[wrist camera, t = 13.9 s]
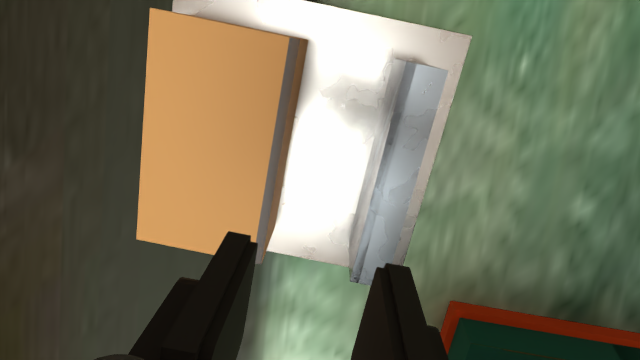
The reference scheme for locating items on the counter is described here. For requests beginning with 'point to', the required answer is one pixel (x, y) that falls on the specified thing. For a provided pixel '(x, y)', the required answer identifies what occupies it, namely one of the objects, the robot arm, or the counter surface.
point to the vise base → (355, 127)
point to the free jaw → (215, 130)
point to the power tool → (529, 337)
